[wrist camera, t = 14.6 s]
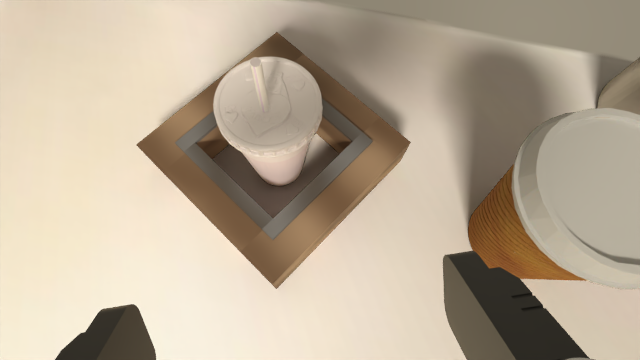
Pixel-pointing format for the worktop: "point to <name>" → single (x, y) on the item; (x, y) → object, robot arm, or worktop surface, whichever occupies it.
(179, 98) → the worktop surface
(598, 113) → the disposable coffee cup
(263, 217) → the socket block
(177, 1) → the worktop surface
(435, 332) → the worktop surface
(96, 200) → the worktop surface
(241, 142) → the smoothie
